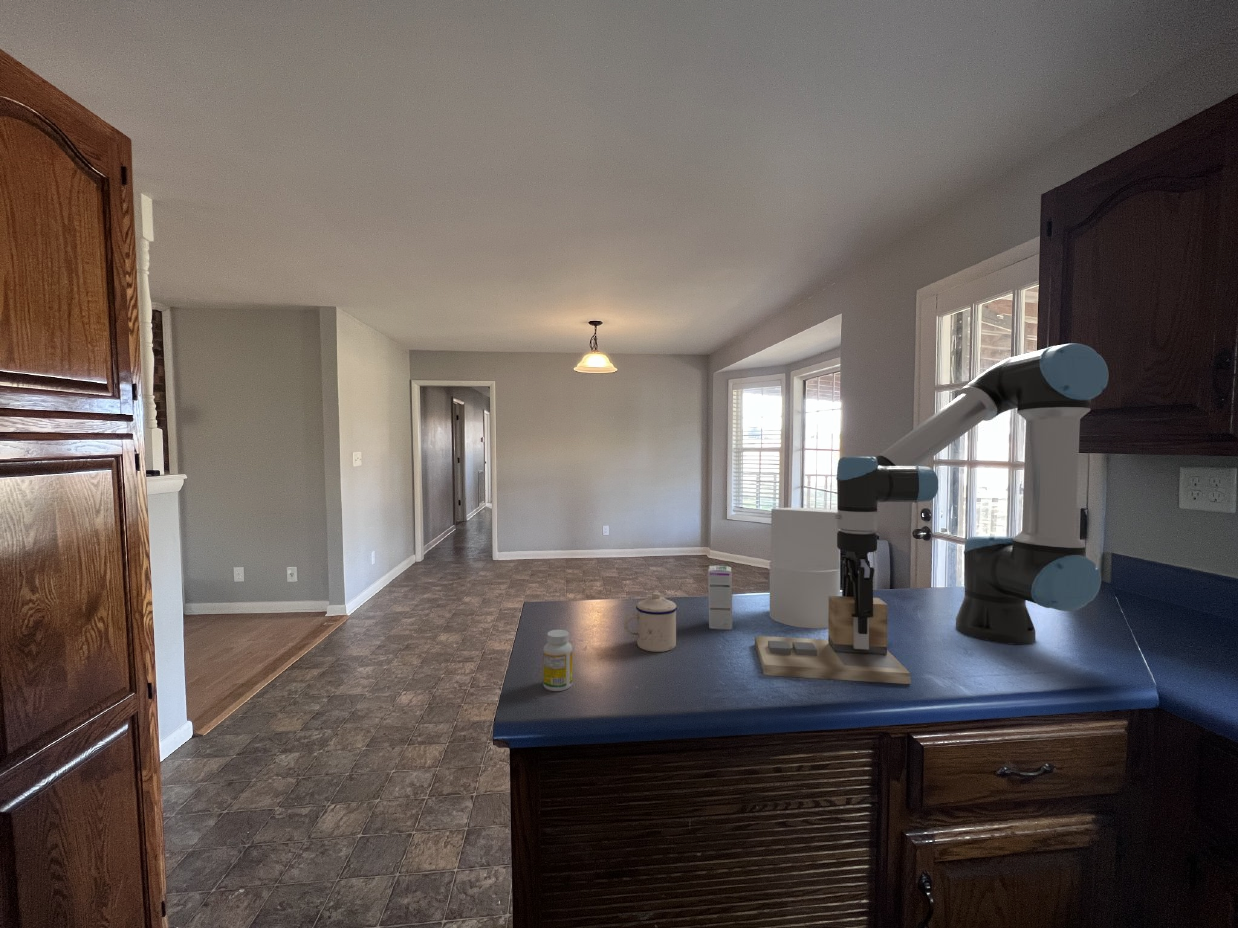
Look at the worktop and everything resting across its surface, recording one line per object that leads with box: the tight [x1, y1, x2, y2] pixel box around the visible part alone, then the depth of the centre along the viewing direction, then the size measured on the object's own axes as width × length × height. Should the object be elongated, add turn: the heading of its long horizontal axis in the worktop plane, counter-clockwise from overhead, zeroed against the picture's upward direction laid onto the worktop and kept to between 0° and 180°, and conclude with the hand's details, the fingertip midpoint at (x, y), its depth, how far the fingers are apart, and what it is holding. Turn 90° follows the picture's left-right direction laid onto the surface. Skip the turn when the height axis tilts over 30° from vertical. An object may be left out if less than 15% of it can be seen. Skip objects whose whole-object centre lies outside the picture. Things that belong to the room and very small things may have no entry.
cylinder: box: [769, 507, 841, 630], centre depth 131 cm, size 17×17×28 cm
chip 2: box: [792, 642, 817, 656], centre depth 103 cm, size 4×4×1 cm
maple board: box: [754, 635, 911, 685], centre depth 102 cm, size 26×16×2 cm, turn 81°
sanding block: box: [827, 595, 888, 654], centre depth 104 cm, size 10×5×10 cm, turn 81°
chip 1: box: [768, 641, 791, 655], centre depth 103 cm, size 4×4×1 cm
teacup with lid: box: [623, 591, 678, 653], centre depth 111 cm, size 12×9×12 cm
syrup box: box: [707, 565, 733, 631], centre depth 125 cm, size 6×6×14 cm
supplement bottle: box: [542, 629, 573, 692], centre depth 92 cm, size 5×5×10 cm
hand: (856, 642), depth 104 cm, fingers closed on sanding block, 5 cm apart
